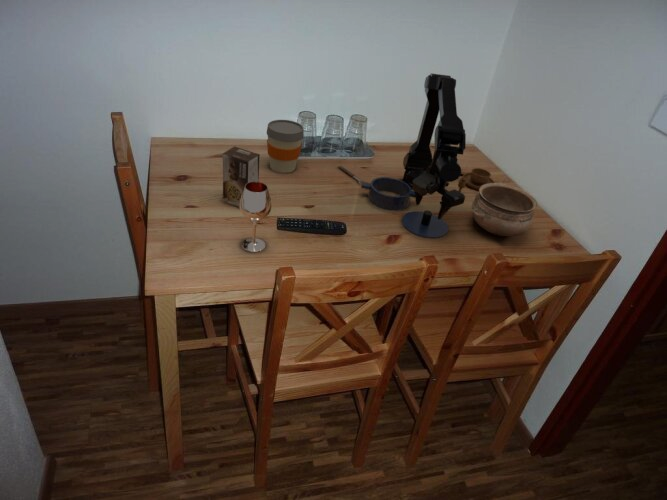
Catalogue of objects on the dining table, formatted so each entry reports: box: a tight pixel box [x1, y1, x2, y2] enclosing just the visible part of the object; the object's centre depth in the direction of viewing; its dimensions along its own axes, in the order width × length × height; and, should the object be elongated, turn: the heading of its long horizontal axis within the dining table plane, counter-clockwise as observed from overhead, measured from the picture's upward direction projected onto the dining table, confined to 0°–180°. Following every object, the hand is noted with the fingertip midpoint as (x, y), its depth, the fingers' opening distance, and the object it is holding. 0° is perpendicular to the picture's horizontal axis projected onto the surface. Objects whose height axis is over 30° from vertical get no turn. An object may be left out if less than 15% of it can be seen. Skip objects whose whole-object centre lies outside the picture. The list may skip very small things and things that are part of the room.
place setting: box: [457, 167, 496, 196], centre depth 185 cm, size 18×20×6 cm
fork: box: [337, 165, 362, 185], centre depth 179 cm, size 15×2×8 cm, turn 37°
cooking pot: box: [470, 182, 538, 237], centre depth 159 cm, size 25×19×12 cm
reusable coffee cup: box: [266, 119, 305, 174], centre depth 175 cm, size 13×12×15 cm
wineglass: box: [238, 181, 272, 253], centre depth 133 cm, size 8×8×18 cm
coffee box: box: [222, 146, 261, 208], centre depth 152 cm, size 9×6×16 cm
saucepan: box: [361, 176, 415, 212], centre depth 167 cm, size 14×19×6 cm
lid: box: [401, 210, 449, 239], centre depth 157 cm, size 15×15×5 cm
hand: (428, 211), depth 155 cm, fingers open, 9 cm apart
